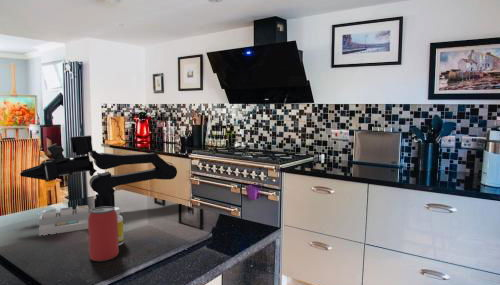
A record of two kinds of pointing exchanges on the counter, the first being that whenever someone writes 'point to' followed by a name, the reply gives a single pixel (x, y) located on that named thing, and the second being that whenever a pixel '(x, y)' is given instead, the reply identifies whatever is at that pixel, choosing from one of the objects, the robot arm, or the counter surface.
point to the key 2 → (82, 209)
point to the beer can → (103, 233)
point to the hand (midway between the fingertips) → (21, 173)
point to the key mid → (66, 211)
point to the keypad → (63, 223)
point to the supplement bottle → (119, 226)
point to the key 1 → (49, 213)
